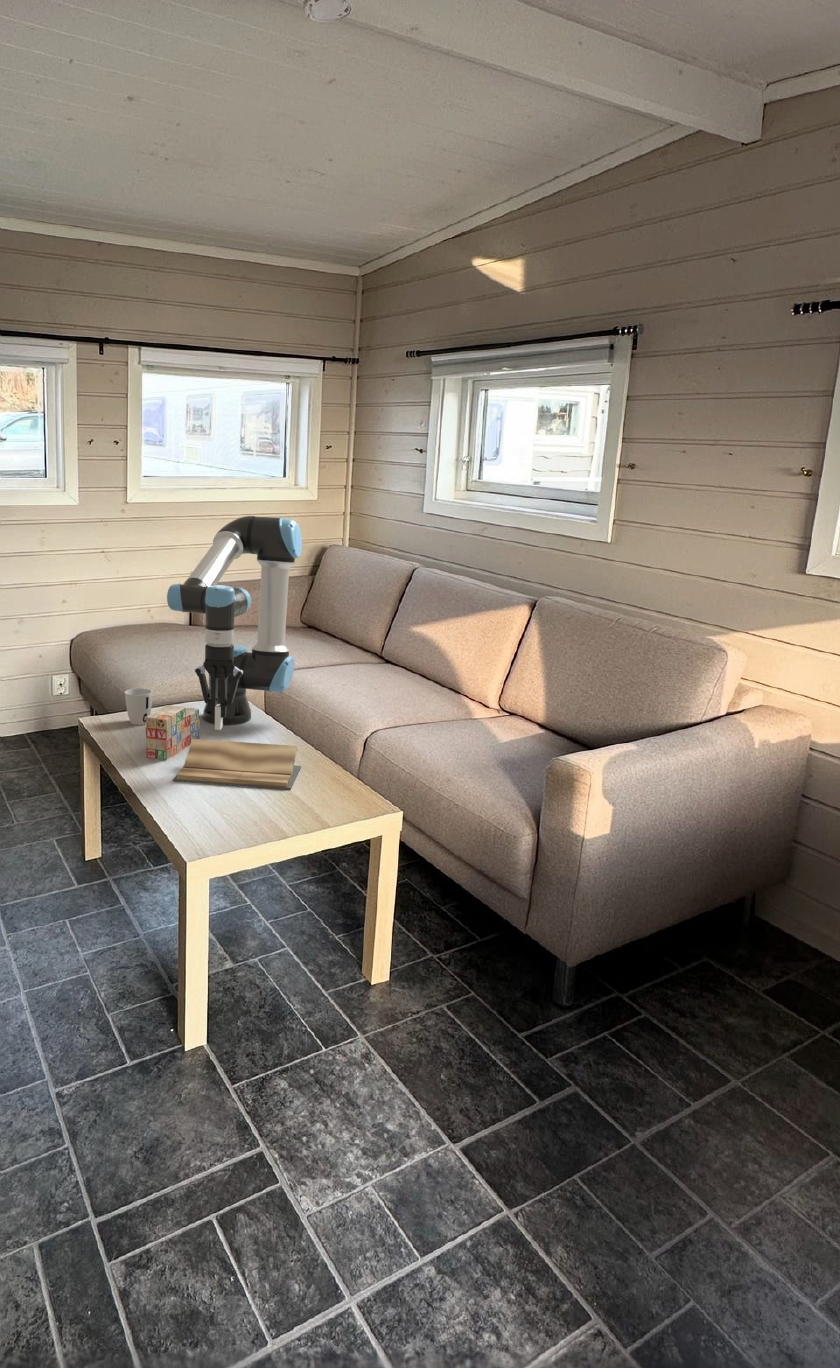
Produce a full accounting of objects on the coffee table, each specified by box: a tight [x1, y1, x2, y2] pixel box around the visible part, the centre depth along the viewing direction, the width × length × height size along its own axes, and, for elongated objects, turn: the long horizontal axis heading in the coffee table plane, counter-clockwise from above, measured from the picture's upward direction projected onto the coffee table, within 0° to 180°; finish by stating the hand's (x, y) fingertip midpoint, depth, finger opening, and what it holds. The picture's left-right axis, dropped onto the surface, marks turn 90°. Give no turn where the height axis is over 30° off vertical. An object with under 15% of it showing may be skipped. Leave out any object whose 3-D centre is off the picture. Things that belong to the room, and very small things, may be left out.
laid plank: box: [176, 767, 291, 787], centre depth 240 cm, size 6×29×1 cm, turn 88°
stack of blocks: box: [145, 704, 201, 761], centre depth 261 cm, size 21×6×12 cm, turn 169°
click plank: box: [183, 738, 298, 777], centre depth 247 cm, size 10×29×1 cm
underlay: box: [172, 764, 302, 791], centre depth 245 cm, size 17×31×1 cm, turn 88°
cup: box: [124, 687, 153, 726], centre depth 282 cm, size 8×8×10 cm
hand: (218, 728), depth 249 cm, fingers closed
